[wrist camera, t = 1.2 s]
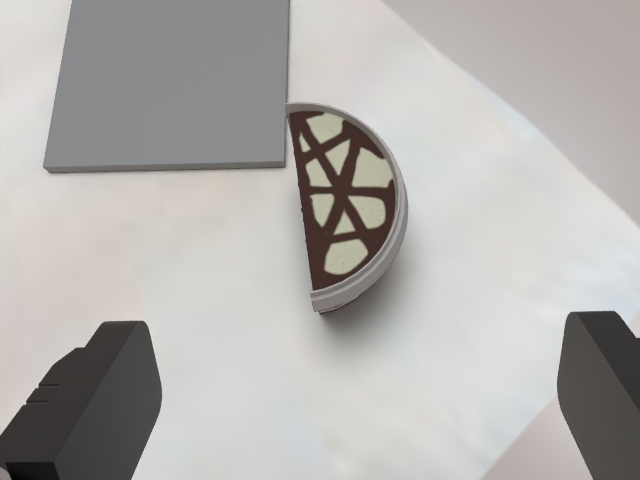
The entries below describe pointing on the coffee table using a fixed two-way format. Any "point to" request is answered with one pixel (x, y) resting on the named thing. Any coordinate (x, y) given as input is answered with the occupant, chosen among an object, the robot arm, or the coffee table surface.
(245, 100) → the slate board
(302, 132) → the food container
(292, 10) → the coffee table surface
